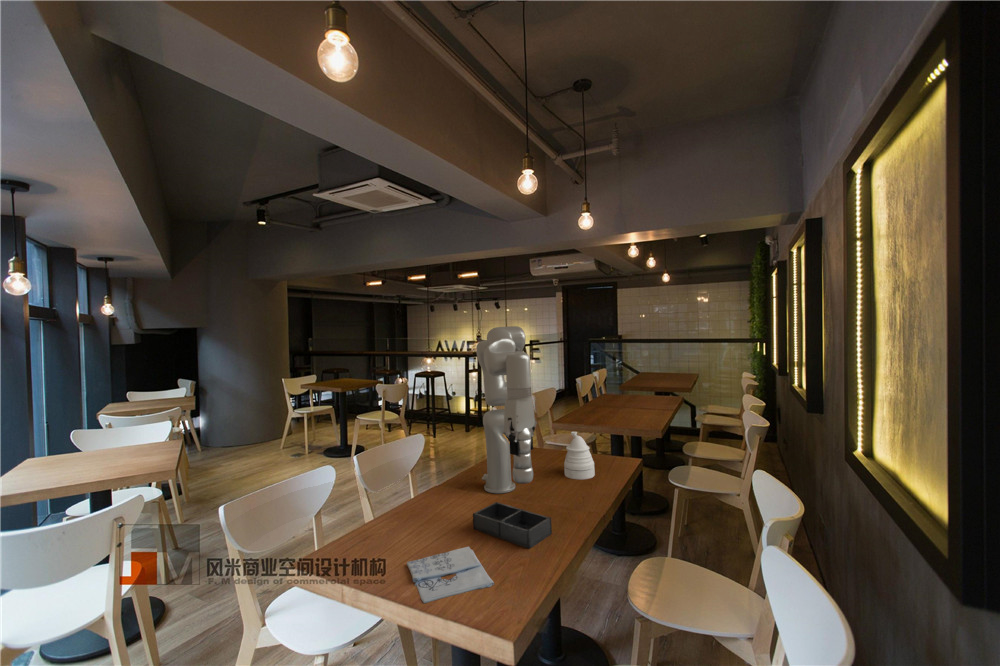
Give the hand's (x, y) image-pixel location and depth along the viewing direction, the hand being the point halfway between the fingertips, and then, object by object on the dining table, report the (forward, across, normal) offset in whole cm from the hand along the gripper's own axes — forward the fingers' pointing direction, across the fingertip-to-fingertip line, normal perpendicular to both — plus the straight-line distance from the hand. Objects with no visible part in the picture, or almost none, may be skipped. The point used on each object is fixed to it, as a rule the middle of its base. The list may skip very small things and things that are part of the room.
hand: (521, 451), depth 135 cm
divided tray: (+26, 0, -5) cm, 27 cm away
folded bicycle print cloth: (+27, +29, -3) cm, 40 cm away
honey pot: (+26, -59, -15) cm, 66 cm away
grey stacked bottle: (+10, 0, 0) cm, 10 cm away
